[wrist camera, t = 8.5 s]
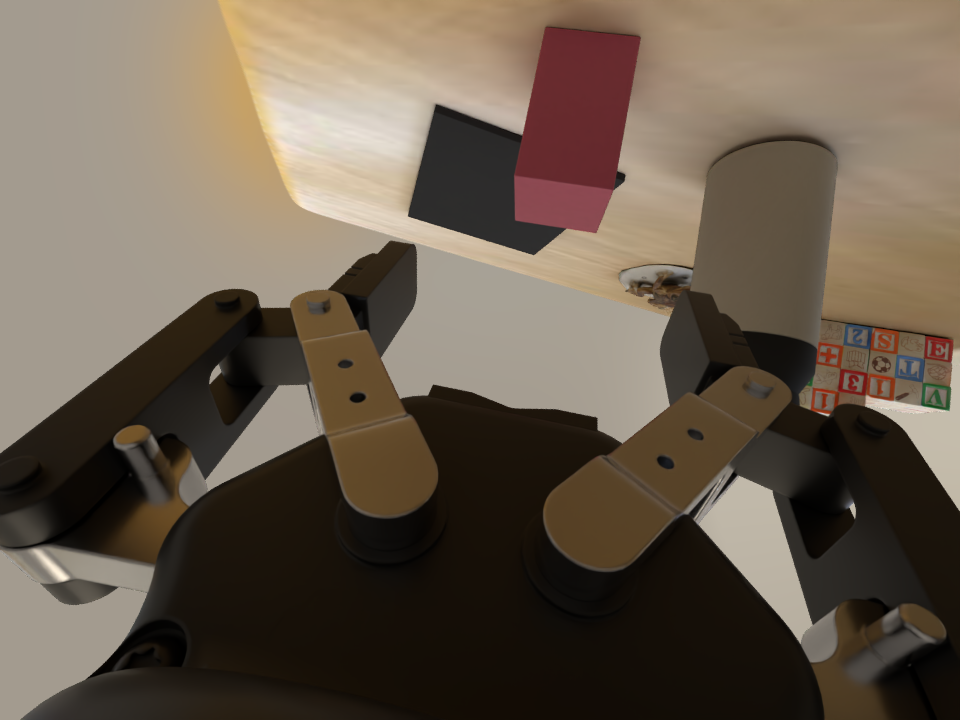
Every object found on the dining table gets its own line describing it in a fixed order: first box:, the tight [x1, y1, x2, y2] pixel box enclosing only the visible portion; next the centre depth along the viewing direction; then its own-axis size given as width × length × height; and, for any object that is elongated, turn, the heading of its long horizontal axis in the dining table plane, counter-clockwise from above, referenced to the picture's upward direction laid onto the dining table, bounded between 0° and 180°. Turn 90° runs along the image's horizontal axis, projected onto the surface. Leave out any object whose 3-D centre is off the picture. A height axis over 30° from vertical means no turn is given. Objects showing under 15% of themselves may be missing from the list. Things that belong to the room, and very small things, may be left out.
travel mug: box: [690, 141, 837, 406], centre depth 31 cm, size 8×8×18 cm
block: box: [514, 27, 641, 233], centre depth 26 cm, size 5×5×9 cm
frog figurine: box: [619, 265, 693, 309], centre depth 57 cm, size 12×12×4 cm
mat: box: [408, 105, 625, 255], centre depth 44 cm, size 20×16×1 cm
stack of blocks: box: [799, 320, 953, 416], centre depth 60 cm, size 21×6×12 cm, turn 99°
